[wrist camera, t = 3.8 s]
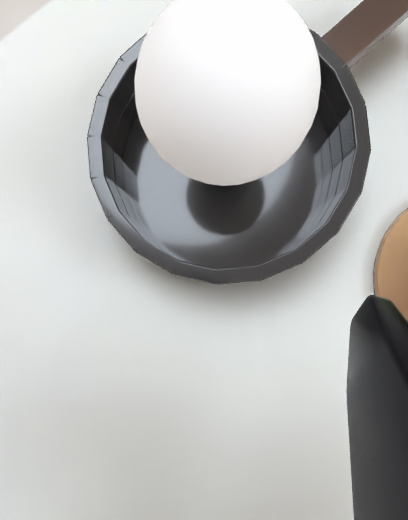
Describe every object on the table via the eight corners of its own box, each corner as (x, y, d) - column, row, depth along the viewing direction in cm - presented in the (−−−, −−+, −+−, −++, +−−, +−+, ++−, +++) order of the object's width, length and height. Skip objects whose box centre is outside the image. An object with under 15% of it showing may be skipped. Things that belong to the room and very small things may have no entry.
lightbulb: (243, 90, 20) (265, -127, 9) (302, 181, 20) (397, 67, 9) (151, 148, 20) (65, 2, 9) (207, 240, 20) (186, 198, 9)
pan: (392, 174, 20) (431, 150, 16) (215, 329, 20) (212, 342, 16) (235, 9, 21) (238, -50, 17) (67, 159, 21) (33, 133, 17)
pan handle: (423, 2, 18) (437, -17, 17) (333, 82, 18) (341, 69, 17) (398, -22, 18) (411, -43, 17) (309, 57, 18) (315, 42, 17)
